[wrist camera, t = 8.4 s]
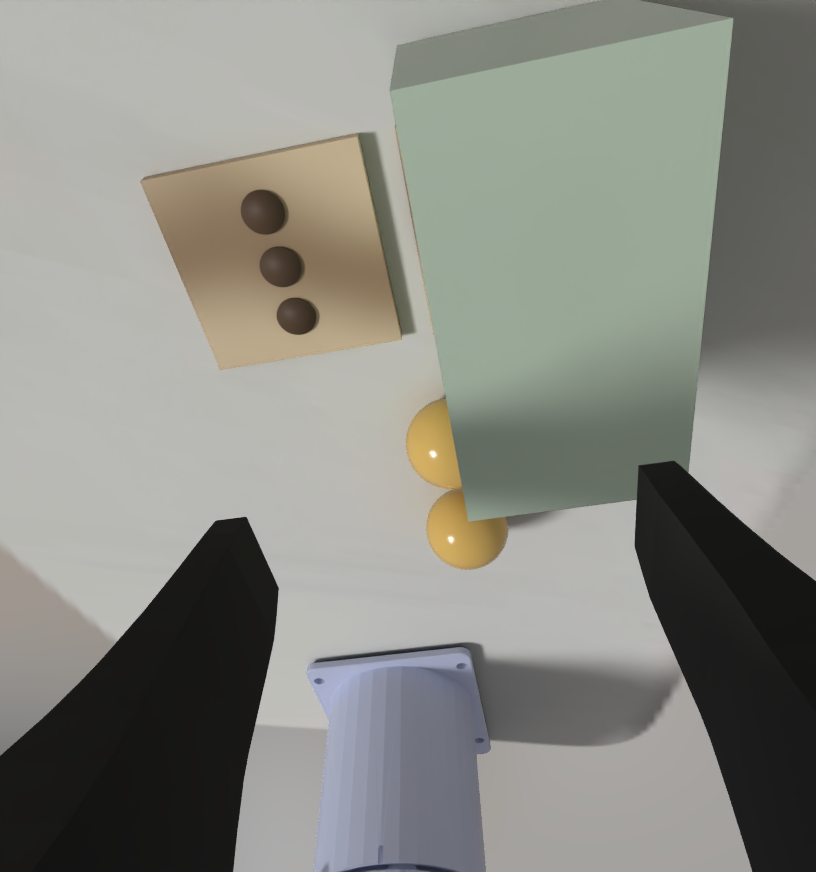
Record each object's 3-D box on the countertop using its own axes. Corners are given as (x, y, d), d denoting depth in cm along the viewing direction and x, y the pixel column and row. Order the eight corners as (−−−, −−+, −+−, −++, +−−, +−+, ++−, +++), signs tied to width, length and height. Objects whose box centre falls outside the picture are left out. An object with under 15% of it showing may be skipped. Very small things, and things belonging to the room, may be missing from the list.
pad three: (401, 334, 20) (401, 341, 20) (223, 363, 21) (219, 371, 21) (358, 133, 17) (357, 137, 16) (144, 177, 17) (138, 182, 17)
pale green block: (615, 355, 20) (686, 492, 15) (454, 381, 21) (468, 521, 16) (618, -4, 15) (733, 17, 9) (397, 45, 15) (389, 91, 10)
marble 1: (496, 444, 23) (506, 500, 21) (414, 456, 23) (414, 513, 21) (486, 374, 21) (496, 427, 19) (398, 388, 22) (397, 442, 19)
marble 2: (506, 522, 25) (516, 581, 23) (432, 532, 26) (434, 591, 23) (499, 465, 24) (509, 522, 21) (419, 476, 24) (420, 534, 22)
